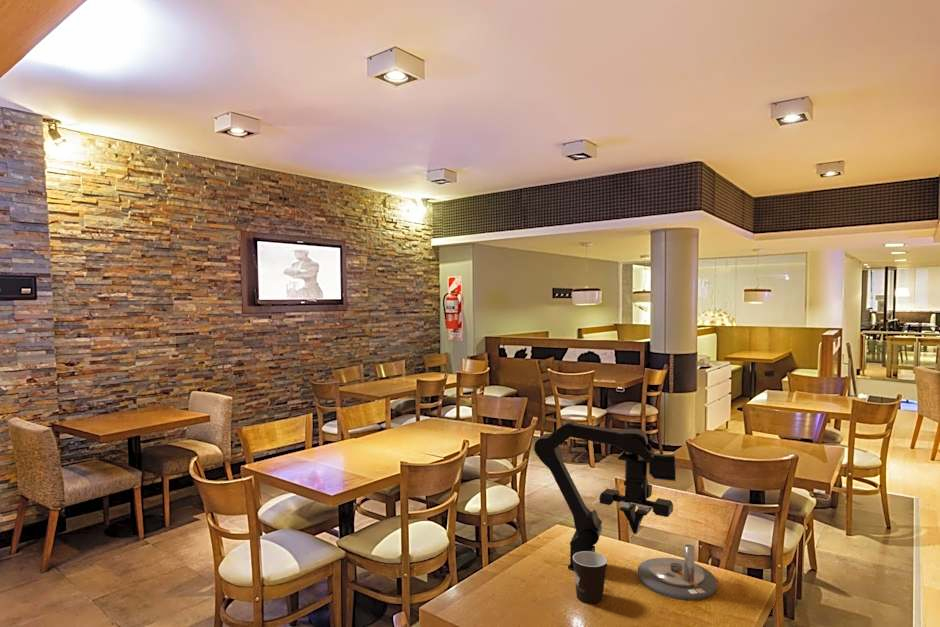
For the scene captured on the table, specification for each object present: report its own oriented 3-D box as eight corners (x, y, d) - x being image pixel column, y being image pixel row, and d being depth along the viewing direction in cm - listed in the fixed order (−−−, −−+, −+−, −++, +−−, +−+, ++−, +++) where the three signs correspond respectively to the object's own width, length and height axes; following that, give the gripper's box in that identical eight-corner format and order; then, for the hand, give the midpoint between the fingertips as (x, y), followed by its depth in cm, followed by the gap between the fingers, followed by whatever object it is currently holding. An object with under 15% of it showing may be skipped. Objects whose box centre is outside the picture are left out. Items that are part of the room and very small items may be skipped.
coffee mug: (607, 608, 137) (607, 568, 137) (571, 604, 139) (572, 564, 139) (605, 585, 149) (606, 547, 149) (572, 581, 151) (573, 544, 150)
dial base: (628, 585, 149) (628, 579, 149) (649, 556, 165) (649, 551, 165) (708, 608, 138) (708, 601, 138) (722, 575, 154) (722, 568, 154)
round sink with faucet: (639, 564, 157) (640, 528, 157) (684, 560, 160) (685, 524, 159) (670, 593, 141) (671, 553, 141) (720, 588, 144) (720, 549, 144)
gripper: (678, 474, 155) (677, 530, 155) (612, 463, 165) (611, 516, 165) (668, 485, 145) (667, 545, 146) (599, 473, 155) (598, 529, 156)
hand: (635, 533), depth 153 cm, fingers closed
